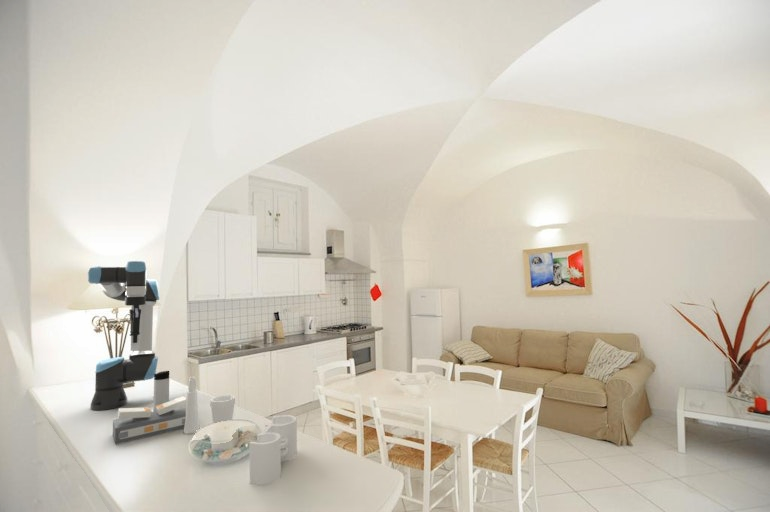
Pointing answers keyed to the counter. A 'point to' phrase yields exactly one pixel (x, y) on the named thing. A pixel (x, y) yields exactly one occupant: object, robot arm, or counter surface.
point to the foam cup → (222, 408)
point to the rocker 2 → (171, 405)
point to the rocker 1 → (134, 412)
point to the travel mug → (161, 388)
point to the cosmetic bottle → (191, 408)
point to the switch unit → (148, 425)
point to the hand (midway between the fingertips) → (134, 350)
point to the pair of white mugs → (273, 449)
